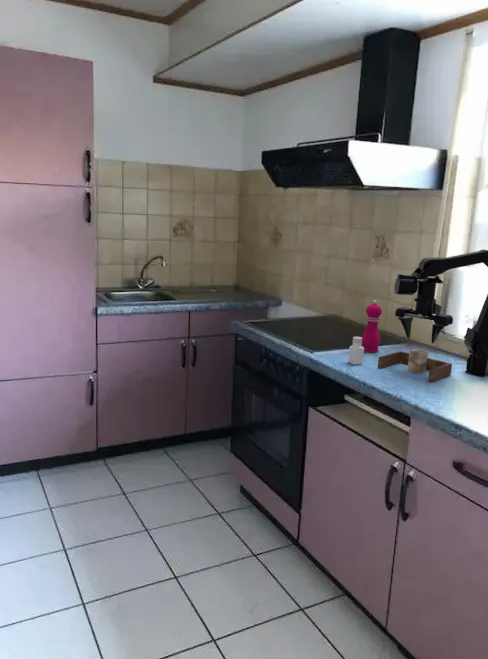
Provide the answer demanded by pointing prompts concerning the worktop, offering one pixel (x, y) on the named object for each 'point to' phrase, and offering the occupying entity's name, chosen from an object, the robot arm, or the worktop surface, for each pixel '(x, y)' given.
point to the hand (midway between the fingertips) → (420, 340)
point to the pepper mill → (372, 328)
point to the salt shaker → (356, 351)
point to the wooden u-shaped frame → (434, 366)
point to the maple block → (417, 360)
